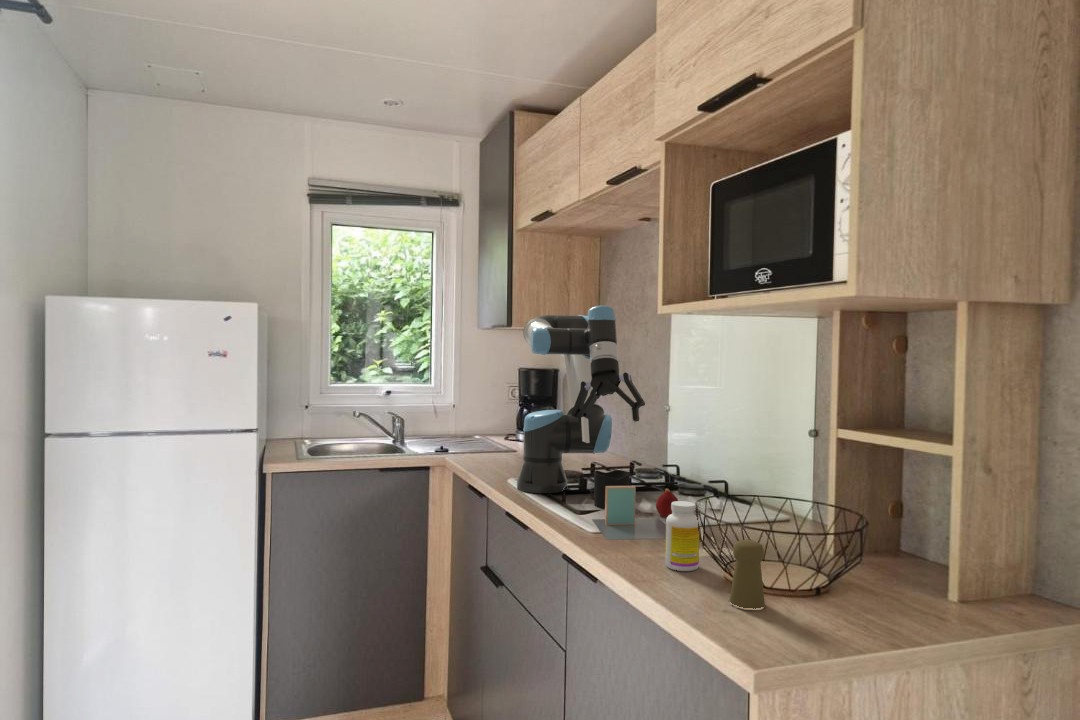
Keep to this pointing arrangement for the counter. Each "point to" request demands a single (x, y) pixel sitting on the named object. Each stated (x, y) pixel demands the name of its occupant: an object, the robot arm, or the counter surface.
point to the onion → (665, 503)
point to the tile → (620, 505)
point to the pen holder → (608, 484)
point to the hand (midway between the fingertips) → (609, 438)
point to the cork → (747, 575)
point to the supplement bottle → (682, 537)
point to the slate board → (633, 529)
